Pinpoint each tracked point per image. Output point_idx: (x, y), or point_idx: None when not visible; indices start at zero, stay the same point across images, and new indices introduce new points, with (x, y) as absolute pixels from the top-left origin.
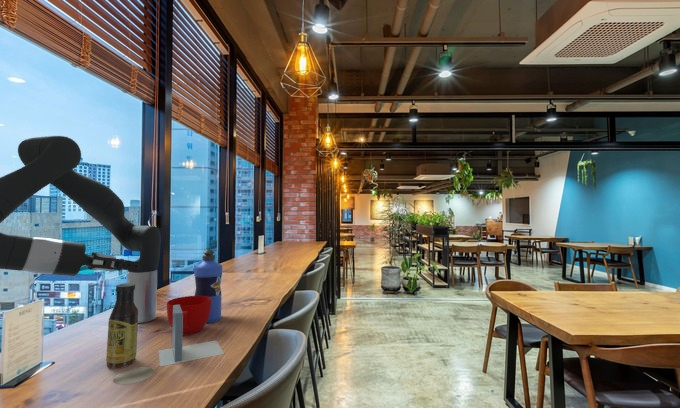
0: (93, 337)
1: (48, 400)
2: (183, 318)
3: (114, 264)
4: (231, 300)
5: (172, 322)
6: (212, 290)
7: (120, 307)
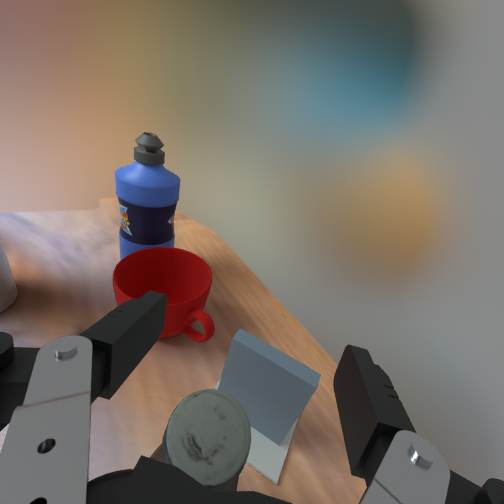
0: None
1: None
2: (211, 333)
3: (105, 380)
4: None
5: None
6: (169, 229)
7: None
